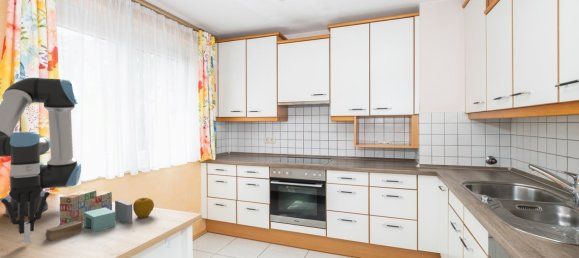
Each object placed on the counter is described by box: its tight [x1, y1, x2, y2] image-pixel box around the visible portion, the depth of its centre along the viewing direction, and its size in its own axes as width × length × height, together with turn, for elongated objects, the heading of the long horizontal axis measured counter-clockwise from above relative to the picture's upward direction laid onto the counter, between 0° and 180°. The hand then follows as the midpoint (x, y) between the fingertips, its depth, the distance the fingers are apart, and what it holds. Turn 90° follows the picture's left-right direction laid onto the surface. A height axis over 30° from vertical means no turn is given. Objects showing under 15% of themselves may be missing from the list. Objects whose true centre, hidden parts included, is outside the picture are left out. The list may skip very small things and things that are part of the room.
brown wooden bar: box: [45, 221, 83, 242], centre depth 108 cm, size 4×10×4 cm, turn 155°
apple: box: [132, 197, 155, 219], centre depth 130 cm, size 8×8×9 cm
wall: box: [114, 199, 133, 224], centre depth 125 cm, size 12×2×8 cm, turn 55°
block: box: [83, 208, 116, 233], centre depth 118 cm, size 10×8×6 cm
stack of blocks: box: [59, 189, 113, 225], centre depth 129 cm, size 21×6×12 cm, turn 170°
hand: (26, 241), depth 99 cm, fingers closed
